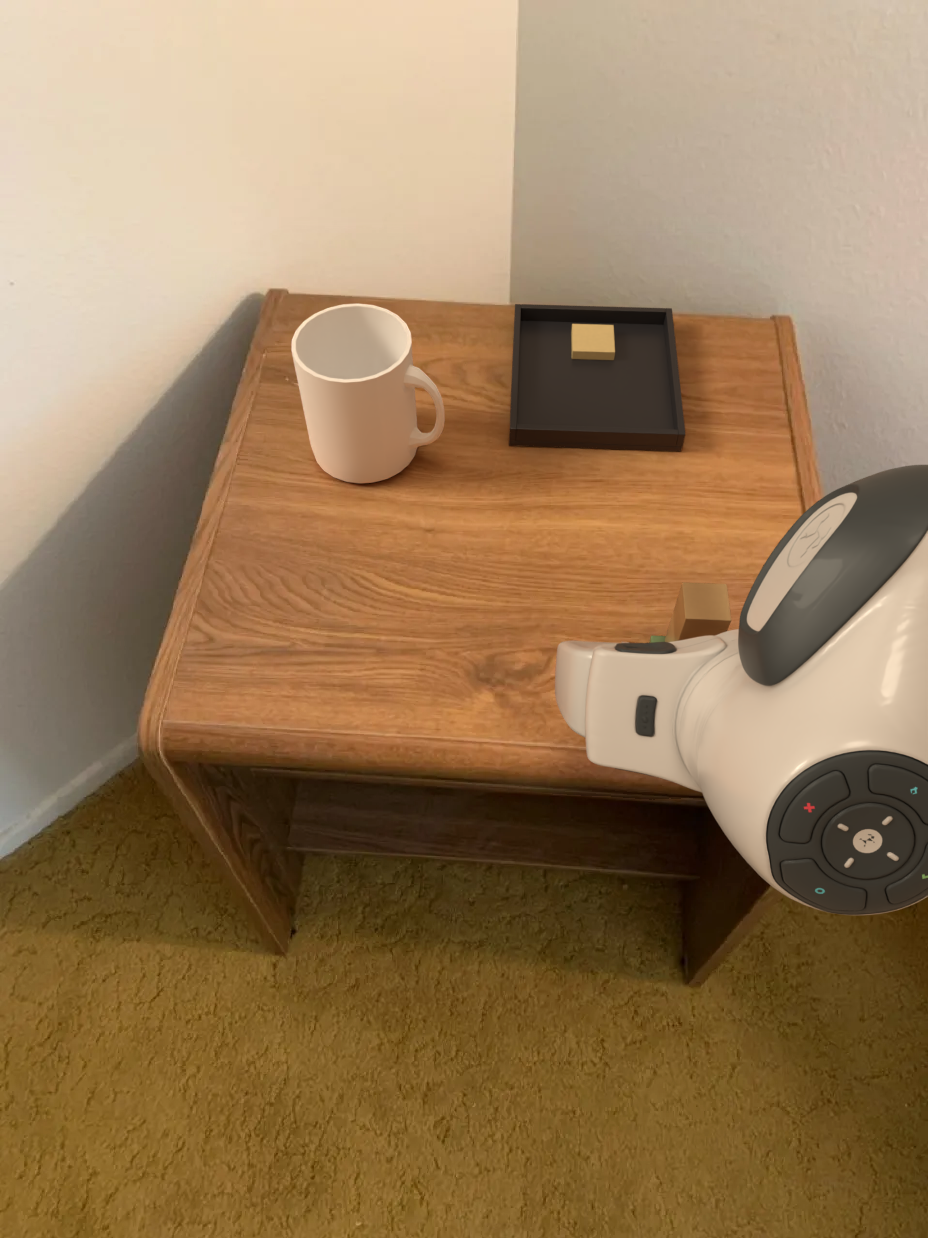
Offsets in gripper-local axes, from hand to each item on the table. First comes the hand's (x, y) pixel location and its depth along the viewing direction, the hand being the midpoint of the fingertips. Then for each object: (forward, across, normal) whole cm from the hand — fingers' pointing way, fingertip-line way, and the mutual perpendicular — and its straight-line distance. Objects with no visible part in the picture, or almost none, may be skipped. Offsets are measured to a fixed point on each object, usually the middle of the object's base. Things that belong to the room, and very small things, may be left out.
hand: (700, 656), depth 62 cm
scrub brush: (+6, 0, +2) cm, 7 cm away
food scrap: (+31, +6, -23) cm, 39 cm away
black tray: (+28, +6, -20) cm, 35 cm away
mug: (+22, +25, -13) cm, 35 cm away
